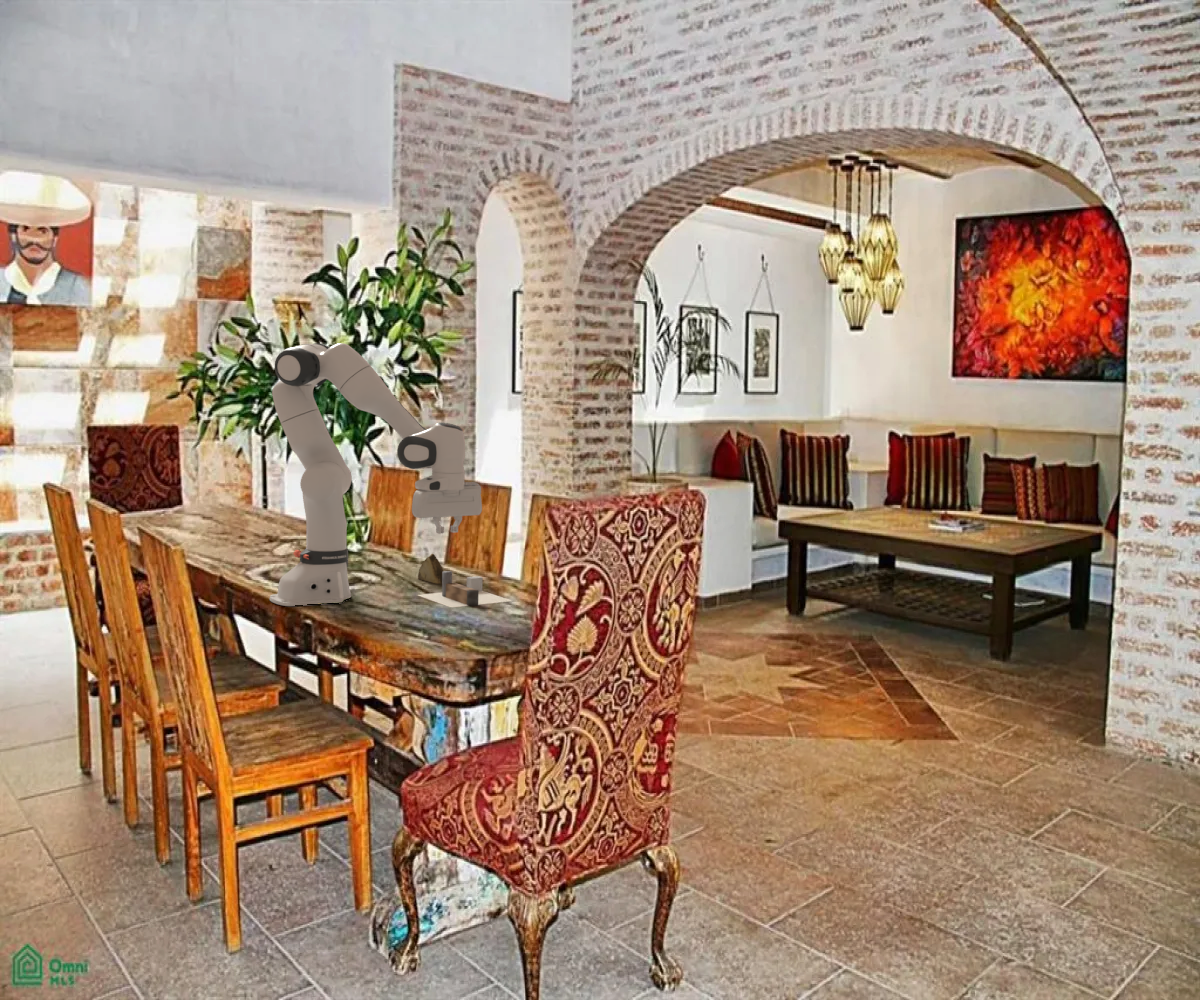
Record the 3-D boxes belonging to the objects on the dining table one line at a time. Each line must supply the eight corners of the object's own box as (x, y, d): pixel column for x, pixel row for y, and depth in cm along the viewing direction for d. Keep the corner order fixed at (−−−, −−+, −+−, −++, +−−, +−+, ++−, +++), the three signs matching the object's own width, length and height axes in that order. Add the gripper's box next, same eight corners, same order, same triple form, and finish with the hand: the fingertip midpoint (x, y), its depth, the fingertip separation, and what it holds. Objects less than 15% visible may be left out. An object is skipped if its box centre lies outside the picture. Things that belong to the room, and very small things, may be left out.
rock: (408, 573, 349) (415, 575, 340) (424, 551, 351) (431, 552, 342) (435, 593, 352) (443, 595, 343) (451, 571, 354) (459, 572, 345)
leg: (445, 597, 321) (445, 583, 321) (455, 596, 323) (455, 582, 323) (470, 606, 310) (470, 592, 310) (480, 605, 312) (480, 591, 311)
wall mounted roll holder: (451, 610, 308) (451, 582, 307) (416, 597, 324) (417, 571, 323) (512, 603, 320) (513, 576, 319) (476, 591, 336) (477, 566, 335)
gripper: (475, 480, 315) (474, 529, 317) (409, 482, 303) (408, 533, 304) (486, 482, 310) (485, 532, 312) (420, 484, 298) (419, 536, 299)
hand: (447, 532), depth 308 cm, fingers open, 3 cm apart
